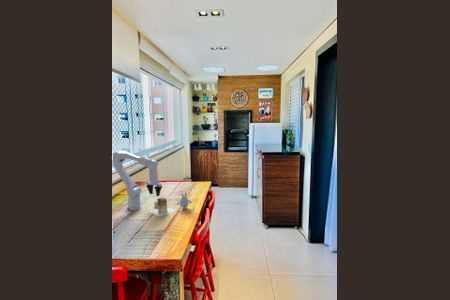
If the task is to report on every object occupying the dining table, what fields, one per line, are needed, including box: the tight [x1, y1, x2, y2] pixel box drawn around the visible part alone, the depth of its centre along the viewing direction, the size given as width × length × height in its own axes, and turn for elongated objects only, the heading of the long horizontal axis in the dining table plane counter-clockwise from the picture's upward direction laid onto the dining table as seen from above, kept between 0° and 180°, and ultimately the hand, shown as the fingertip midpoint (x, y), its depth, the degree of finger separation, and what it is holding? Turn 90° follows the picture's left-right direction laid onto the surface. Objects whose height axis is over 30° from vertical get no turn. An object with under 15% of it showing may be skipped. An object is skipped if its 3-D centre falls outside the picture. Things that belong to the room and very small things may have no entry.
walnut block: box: [156, 197, 168, 207], centre depth 167 cm, size 4×4×4 cm
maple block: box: [157, 205, 168, 213], centre depth 167 cm, size 4×4×4 cm
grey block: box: [153, 200, 158, 208], centre depth 178 cm, size 4×4×4 cm
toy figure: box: [176, 192, 193, 210], centre depth 171 cm, size 11×6×12 cm, turn 113°
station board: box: [148, 206, 177, 217], centre depth 168 cm, size 14×14×1 cm
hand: (154, 194), depth 173 cm, fingers open, 7 cm apart
